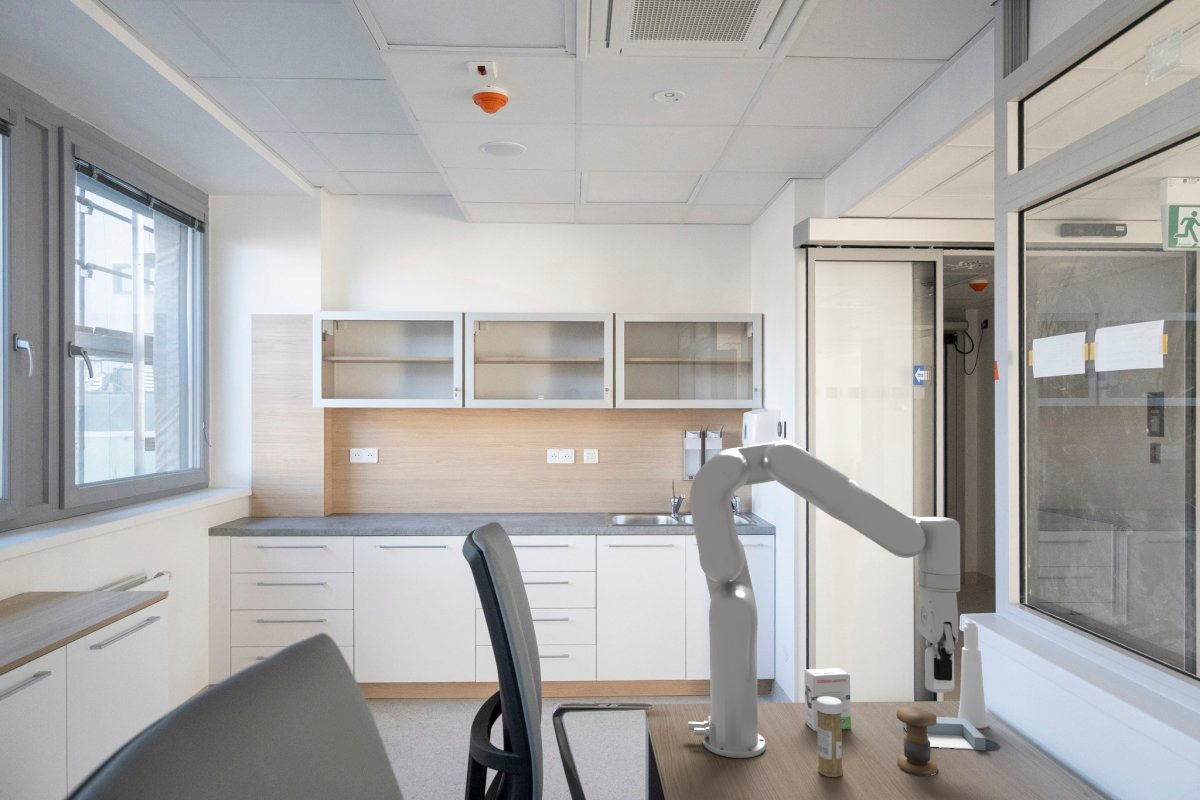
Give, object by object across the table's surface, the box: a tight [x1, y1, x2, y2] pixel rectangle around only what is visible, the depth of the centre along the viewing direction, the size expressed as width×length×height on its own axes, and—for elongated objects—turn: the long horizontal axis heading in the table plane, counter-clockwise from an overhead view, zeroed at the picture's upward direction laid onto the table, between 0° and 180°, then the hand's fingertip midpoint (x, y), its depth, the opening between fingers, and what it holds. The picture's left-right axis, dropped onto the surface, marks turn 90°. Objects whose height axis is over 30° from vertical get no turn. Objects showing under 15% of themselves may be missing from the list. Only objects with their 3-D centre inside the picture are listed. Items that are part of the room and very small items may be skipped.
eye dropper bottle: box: [924, 639, 955, 694], centre depth 141 cm, size 4×6×12 cm
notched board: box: [902, 716, 986, 751], centre depth 150 cm, size 13×10×2 cm
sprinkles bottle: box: [817, 696, 844, 778], centre depth 136 cm, size 5×5×14 cm
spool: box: [896, 706, 939, 776], centre depth 138 cm, size 7×7×10 cm
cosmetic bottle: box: [957, 620, 989, 729], centre depth 159 cm, size 6×6×22 cm
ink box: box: [803, 667, 852, 732], centre depth 157 cm, size 9×5×12 cm, turn 99°
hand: (938, 674), depth 141 cm, fingers closed on eye dropper bottle, 4 cm apart
